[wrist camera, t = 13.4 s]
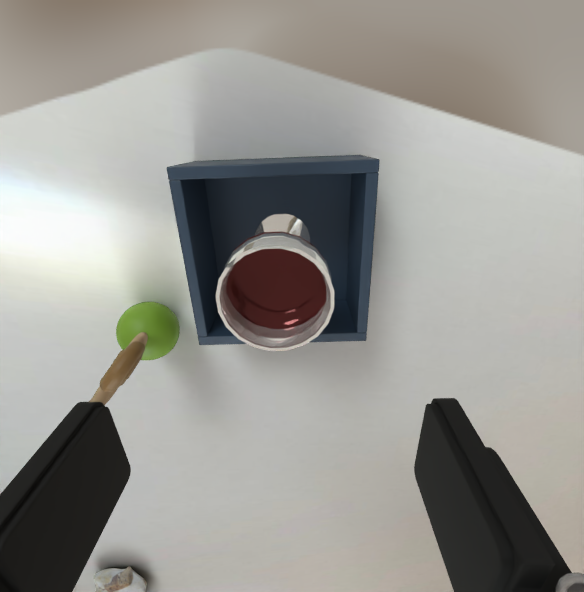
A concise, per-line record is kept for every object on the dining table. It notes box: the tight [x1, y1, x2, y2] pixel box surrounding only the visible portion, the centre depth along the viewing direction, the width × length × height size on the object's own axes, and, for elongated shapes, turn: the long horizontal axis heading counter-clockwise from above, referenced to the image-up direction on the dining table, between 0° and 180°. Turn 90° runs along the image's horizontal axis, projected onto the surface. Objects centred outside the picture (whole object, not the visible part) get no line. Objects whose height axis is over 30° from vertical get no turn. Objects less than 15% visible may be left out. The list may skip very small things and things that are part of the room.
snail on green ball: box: [89, 302, 180, 406], centre depth 28 cm, size 5×6×12 cm
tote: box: [167, 155, 379, 345], centre depth 27 cm, size 14×14×7 cm
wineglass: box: [216, 213, 334, 351], centre depth 24 cm, size 7×7×12 cm
